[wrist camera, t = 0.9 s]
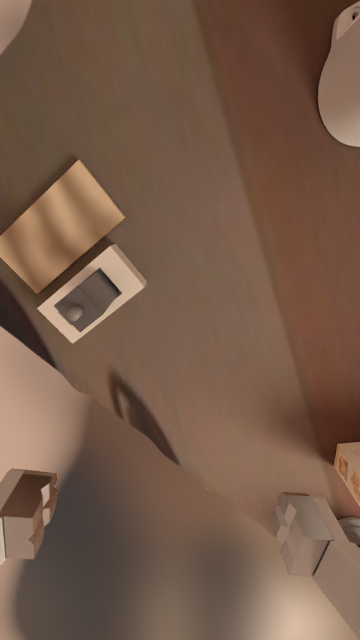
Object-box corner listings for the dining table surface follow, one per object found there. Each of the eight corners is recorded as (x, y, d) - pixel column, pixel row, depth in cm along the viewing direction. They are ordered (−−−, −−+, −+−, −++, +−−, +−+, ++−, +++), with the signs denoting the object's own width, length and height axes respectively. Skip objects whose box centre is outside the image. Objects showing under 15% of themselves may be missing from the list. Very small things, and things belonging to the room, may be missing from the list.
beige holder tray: (115, 243, 45) (109, 246, 41) (147, 281, 47) (144, 287, 44) (47, 301, 48) (36, 308, 45) (80, 334, 51) (72, 343, 47)
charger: (102, 268, 45) (70, 290, 31) (121, 290, 46) (98, 320, 33) (84, 283, 46) (46, 310, 32) (103, 304, 47) (74, 339, 34)
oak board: (80, 160, 41) (78, 159, 40) (125, 217, 44) (124, 217, 43) (-8, 245, 45) (-11, 246, 44) (39, 292, 48) (36, 293, 47)
